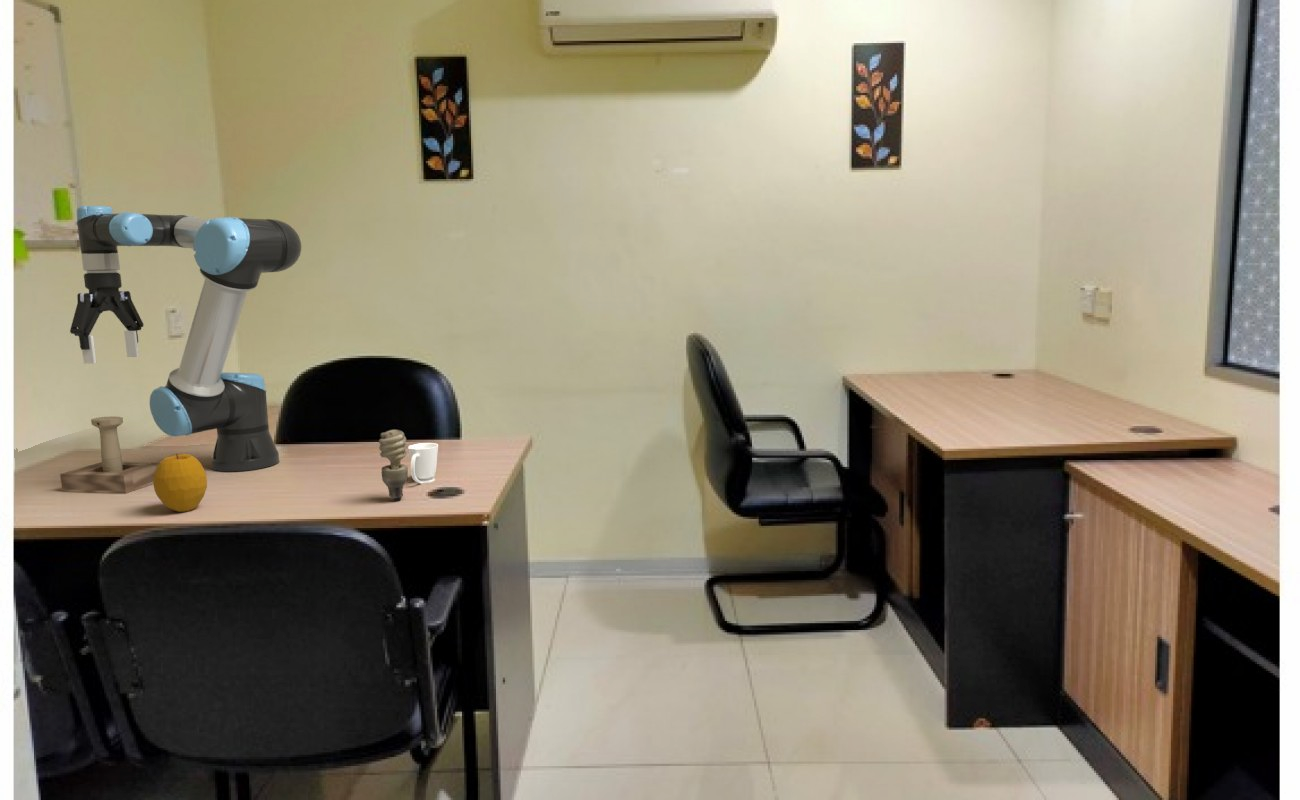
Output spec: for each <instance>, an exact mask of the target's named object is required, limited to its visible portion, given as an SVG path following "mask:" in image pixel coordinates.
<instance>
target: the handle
mask: <svg viewBox="0 0 1300 800" xmlns="http://www.w3.org/2000/svg"><path fill="white" fill-rule="evenodd" d="M90 423H91V425H92V426H93V427H95V428H97V429H99V436H100V437H99V438H100V439H99V440H100V457H101V462H102V467H103V472H113V473H117V472H120V471H123V469H122V468H123V466H122V462H123V458H122V452H121V447H120V441H119V435H118V427H120V426H121V425H122V424H123V423H124V417H122V416H100V417H99V416H98V417H96V418H95V417H94V418H90Z"/></svg>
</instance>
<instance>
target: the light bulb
mask: <svg viewBox="0 0 1300 800" xmlns="http://www.w3.org/2000/svg"><path fill="white" fill-rule="evenodd" d="M406 442H407V437H406V436H405V433H404V432H403V431H402V430H400V429H390V430H389V429H388V430H387V431H385V432H381V433H380V438H379V440H378V443H379V447H378V449H379V450H380V451H381V452H380V453H379V456H380V457H381V458H386V459H387V460H389V462H390V464H388V465H384V466H382V467H381V480H382V482H383V483H384V485H385V486H386V487H387V490H388V493H389V494H388V496H389V497H390V498H391V499H394V500H395V501H401V498H403V496H404V493H403V491H404V490H403V489H404V485H405V483H406V482H407V481H408V477H409V475H408V473H409V471H408V468H409V467H408V466H407V465H405V464H401V461H402V460H403V459H404V458H405V457H406V456H407V450H406V449H407V444H406Z"/></svg>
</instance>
